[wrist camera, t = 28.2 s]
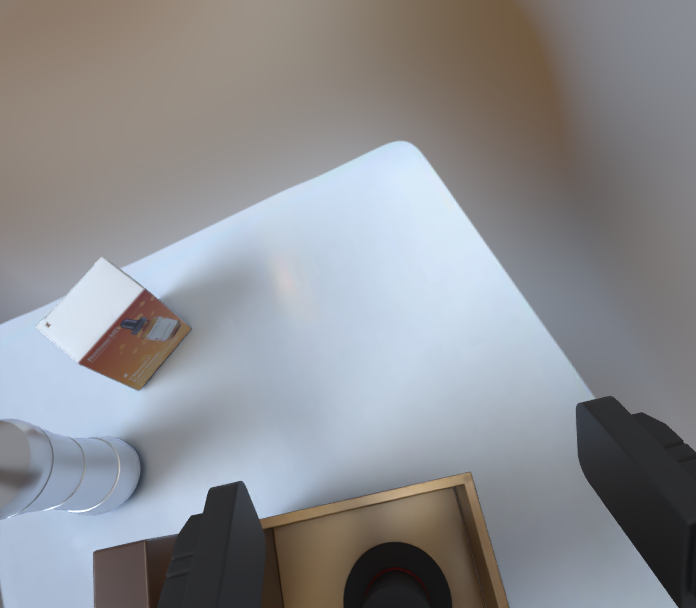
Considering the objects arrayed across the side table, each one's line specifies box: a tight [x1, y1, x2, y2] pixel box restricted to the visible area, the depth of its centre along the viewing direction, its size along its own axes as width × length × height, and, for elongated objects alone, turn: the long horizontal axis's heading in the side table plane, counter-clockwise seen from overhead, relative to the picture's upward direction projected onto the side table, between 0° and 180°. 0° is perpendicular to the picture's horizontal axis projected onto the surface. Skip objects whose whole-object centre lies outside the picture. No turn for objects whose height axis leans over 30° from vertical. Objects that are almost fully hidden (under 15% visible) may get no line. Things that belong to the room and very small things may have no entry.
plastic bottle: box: [0, 419, 141, 520], centre depth 37 cm, size 6×7×20 cm
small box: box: [35, 257, 191, 391], centre depth 46 cm, size 8×6×10 cm
